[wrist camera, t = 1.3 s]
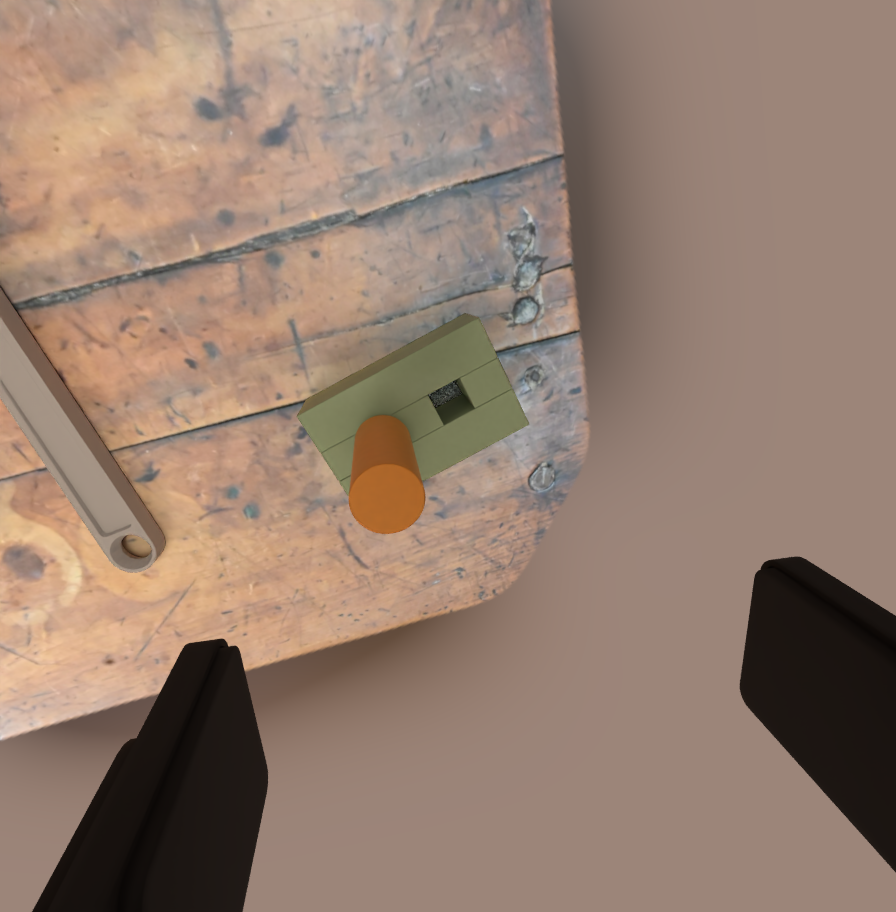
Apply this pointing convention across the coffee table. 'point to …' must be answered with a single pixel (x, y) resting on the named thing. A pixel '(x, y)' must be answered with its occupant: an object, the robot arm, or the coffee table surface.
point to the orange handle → (385, 477)
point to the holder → (421, 400)
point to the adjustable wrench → (71, 446)
